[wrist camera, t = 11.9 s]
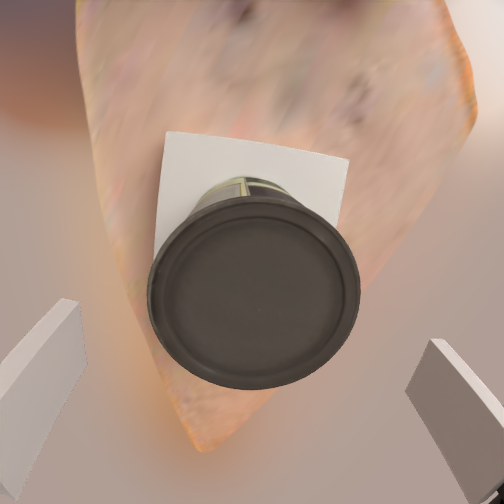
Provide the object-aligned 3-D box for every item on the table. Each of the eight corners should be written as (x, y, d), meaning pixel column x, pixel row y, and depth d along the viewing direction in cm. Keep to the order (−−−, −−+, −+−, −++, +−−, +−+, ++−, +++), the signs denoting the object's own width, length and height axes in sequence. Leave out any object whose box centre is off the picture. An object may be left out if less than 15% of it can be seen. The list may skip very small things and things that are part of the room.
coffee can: (304, 172, 27) (369, 195, 13) (303, 284, 30) (349, 381, 16) (183, 177, 26) (131, 205, 13) (193, 289, 29) (165, 392, 16)
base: (177, 133, 30) (166, 130, 25) (332, 158, 31) (349, 159, 26) (161, 282, 34) (151, 302, 30) (303, 300, 36) (312, 321, 31)
